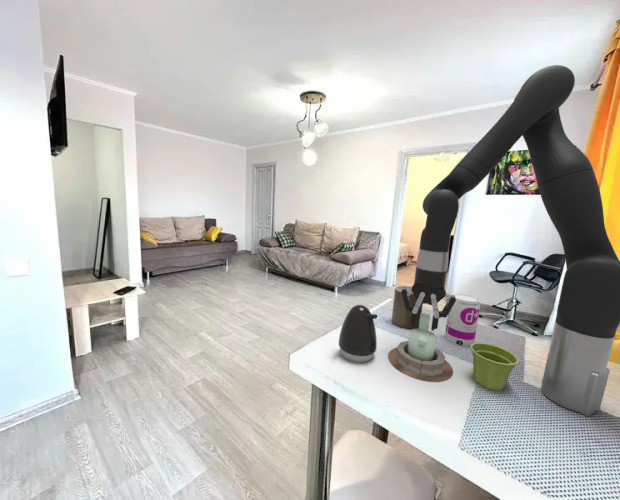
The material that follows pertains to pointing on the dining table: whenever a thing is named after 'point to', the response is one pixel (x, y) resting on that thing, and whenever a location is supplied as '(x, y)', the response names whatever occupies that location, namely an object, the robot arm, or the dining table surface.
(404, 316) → the pillar candle
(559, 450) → the dining table surface
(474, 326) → the supplement can
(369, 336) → the dark rounded figure
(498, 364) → the plant pot
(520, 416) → the dining table surface
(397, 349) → the stone ring brown dish
